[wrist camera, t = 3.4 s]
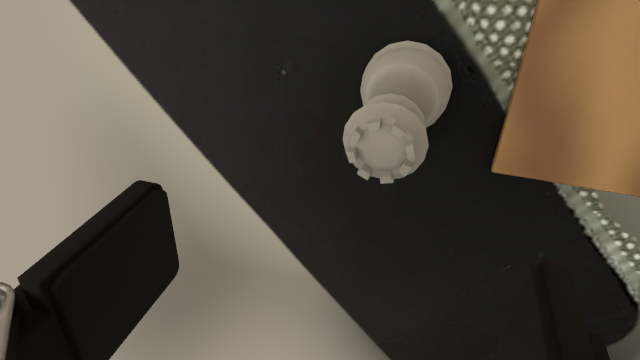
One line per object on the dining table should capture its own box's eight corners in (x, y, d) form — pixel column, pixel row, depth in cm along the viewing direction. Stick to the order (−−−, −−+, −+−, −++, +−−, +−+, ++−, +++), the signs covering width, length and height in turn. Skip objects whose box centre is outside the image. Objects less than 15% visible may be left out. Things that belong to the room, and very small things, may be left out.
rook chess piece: (472, 84, 22) (471, 160, 15) (406, 138, 24) (380, 224, 18) (409, 18, 21) (379, 68, 15) (347, 81, 24) (298, 148, 17)
